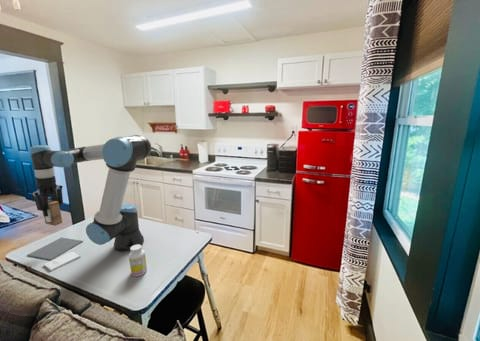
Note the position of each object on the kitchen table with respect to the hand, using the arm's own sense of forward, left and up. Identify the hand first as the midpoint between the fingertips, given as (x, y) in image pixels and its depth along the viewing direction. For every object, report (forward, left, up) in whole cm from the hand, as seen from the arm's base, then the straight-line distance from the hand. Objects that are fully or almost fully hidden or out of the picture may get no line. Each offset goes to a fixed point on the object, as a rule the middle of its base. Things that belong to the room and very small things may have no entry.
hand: (53, 219), depth 121 cm
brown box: (0, 0, -2) cm, 2 cm away
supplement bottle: (-54, +5, -18) cm, 57 cm away
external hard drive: (-12, +8, -18) cm, 23 cm away
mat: (+3, -1, -18) cm, 18 cm away
